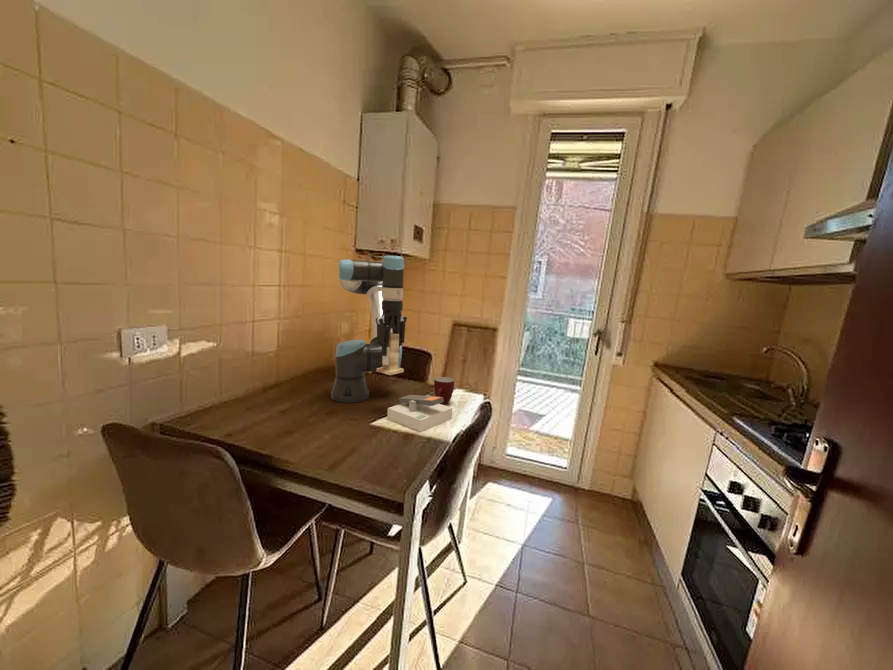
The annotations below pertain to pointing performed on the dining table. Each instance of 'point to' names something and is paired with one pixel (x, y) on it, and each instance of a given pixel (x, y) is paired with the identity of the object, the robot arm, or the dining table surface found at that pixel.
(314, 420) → the dining table surface
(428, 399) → the rocker
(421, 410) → the switch box
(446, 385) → the mug
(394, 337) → the wooden post with base
